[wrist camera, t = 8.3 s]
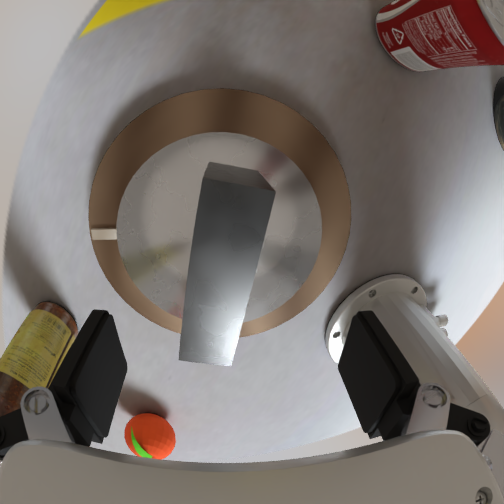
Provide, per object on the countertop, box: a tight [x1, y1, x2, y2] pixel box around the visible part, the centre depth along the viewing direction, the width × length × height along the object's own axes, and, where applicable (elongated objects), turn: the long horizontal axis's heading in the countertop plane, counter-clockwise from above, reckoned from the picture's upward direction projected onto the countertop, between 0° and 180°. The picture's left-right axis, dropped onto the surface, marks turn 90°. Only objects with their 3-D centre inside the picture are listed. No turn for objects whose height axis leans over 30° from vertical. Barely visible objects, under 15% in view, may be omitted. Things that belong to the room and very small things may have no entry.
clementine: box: [125, 413, 176, 459], centre depth 28 cm, size 8×7×7 cm
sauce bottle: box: [0, 302, 78, 417], centre depth 15 cm, size 7×6×20 cm
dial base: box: [89, 88, 351, 337], centre depth 21 cm, size 20×20×2 cm
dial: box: [117, 132, 322, 366], centre depth 16 cm, size 14×14×7 cm
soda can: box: [375, 0, 504, 72], centre depth 11 cm, size 7×7×12 cm
